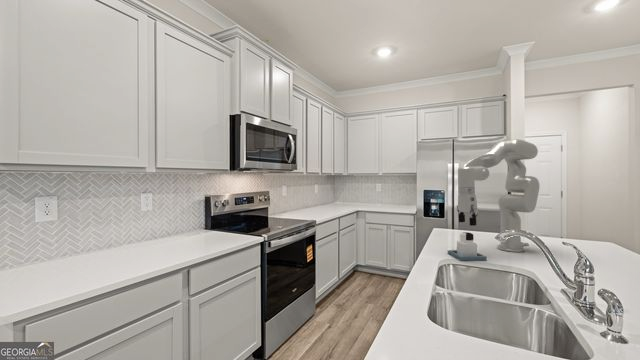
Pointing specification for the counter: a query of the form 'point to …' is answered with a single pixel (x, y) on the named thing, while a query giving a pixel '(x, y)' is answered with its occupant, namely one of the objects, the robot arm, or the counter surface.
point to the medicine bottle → (466, 245)
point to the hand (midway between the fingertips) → (467, 223)
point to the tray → (467, 258)
